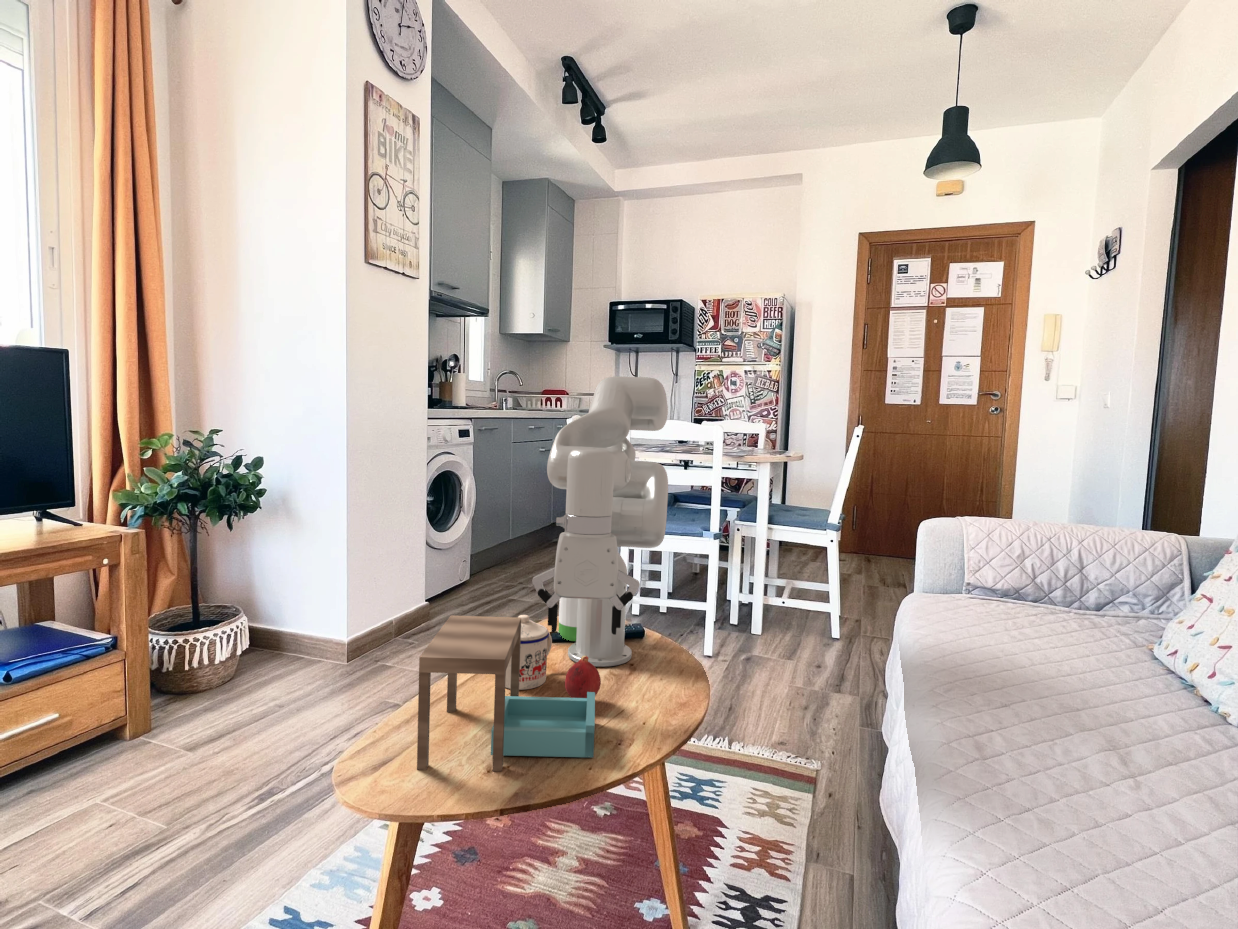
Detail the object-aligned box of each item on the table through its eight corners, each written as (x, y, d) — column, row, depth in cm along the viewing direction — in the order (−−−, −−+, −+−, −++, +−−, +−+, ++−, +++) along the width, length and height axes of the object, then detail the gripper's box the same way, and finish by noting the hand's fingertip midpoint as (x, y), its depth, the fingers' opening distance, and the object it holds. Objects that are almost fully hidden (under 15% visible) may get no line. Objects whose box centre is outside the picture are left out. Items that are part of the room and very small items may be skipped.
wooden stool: (448, 708, 103) (450, 615, 102) (518, 710, 103) (521, 617, 102) (416, 769, 85) (419, 657, 84) (501, 771, 85) (505, 659, 84)
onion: (582, 715, 102) (584, 665, 102) (556, 703, 106) (558, 655, 105) (606, 704, 107) (608, 656, 106) (581, 693, 110) (583, 647, 110)
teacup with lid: (522, 696, 108) (524, 627, 108) (484, 681, 114) (486, 616, 113) (568, 674, 118) (570, 612, 118) (531, 662, 123) (533, 602, 123)
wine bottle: (599, 634, 142) (605, 497, 140) (586, 645, 134) (591, 501, 132) (566, 629, 144) (571, 494, 142) (552, 639, 137) (557, 498, 135)
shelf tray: (502, 718, 99) (503, 689, 99) (593, 720, 100) (594, 692, 100) (490, 755, 88) (491, 723, 88) (593, 757, 89) (594, 725, 89)
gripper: (532, 526, 100) (527, 636, 101) (643, 531, 101) (638, 640, 101) (536, 520, 108) (532, 622, 108) (640, 524, 108) (635, 626, 109)
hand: (583, 631), depth 105 cm, fingers open, 9 cm apart
